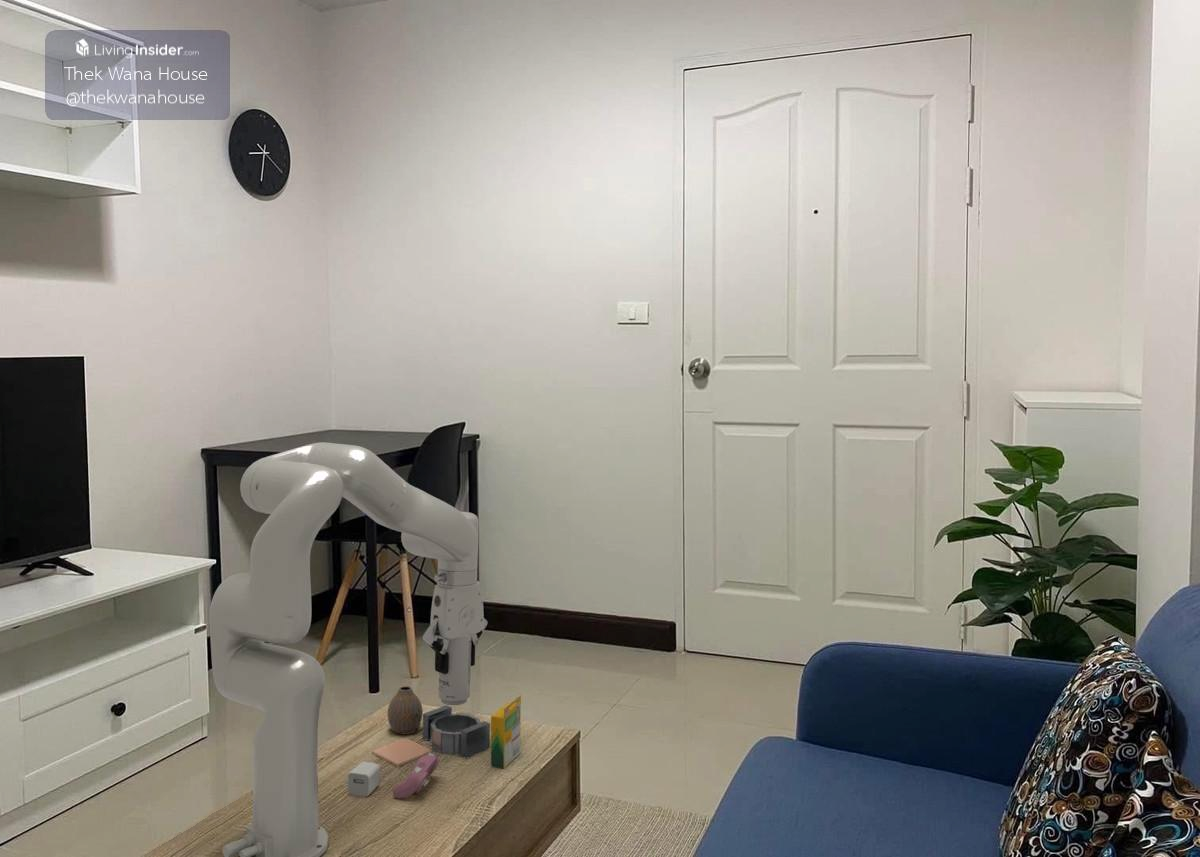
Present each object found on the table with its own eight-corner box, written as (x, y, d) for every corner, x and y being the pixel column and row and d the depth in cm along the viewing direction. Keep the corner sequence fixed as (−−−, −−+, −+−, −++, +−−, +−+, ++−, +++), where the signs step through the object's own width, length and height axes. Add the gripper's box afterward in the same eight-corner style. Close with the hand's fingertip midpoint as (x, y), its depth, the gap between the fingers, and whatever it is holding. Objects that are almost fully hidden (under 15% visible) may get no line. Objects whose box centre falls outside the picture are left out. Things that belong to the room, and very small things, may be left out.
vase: (386, 724, 194) (386, 683, 193) (420, 721, 196) (420, 680, 195) (389, 739, 188) (389, 696, 187) (424, 735, 190) (424, 692, 189)
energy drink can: (435, 696, 187) (437, 621, 185) (465, 693, 189) (467, 619, 188) (442, 707, 181) (444, 630, 180) (473, 704, 183) (475, 628, 182)
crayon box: (506, 750, 184) (507, 692, 183) (521, 753, 183) (522, 694, 182) (489, 766, 177) (490, 706, 176) (504, 769, 176) (505, 708, 175)
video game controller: (410, 810, 163) (428, 778, 162) (388, 796, 164) (406, 763, 163) (432, 784, 173) (449, 753, 172) (411, 770, 174) (427, 739, 172)
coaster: (397, 766, 176) (397, 764, 176) (371, 753, 181) (371, 750, 181) (431, 752, 182) (431, 750, 182) (405, 740, 187) (405, 738, 187)
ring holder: (496, 745, 186) (496, 720, 186) (458, 761, 179) (459, 735, 178) (453, 726, 194) (453, 702, 194) (415, 740, 187) (415, 716, 186)
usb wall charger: (347, 794, 165) (347, 772, 165) (366, 776, 172) (366, 755, 172) (369, 797, 165) (369, 775, 164) (386, 779, 171) (386, 757, 171)
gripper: (435, 587, 174) (432, 684, 175) (503, 573, 187) (500, 662, 189) (409, 580, 179) (407, 673, 180) (477, 566, 192) (475, 654, 193)
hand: (455, 667), depth 184 cm, fingers closed on energy drink can, 6 cm apart
